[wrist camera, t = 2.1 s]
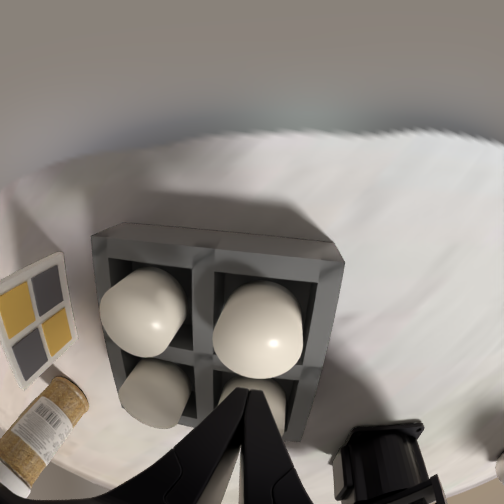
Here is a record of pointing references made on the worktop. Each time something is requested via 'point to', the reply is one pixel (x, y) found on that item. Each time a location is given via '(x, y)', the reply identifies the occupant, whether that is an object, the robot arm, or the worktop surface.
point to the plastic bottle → (500, 468)
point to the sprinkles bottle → (39, 434)
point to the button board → (215, 297)
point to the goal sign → (36, 318)
